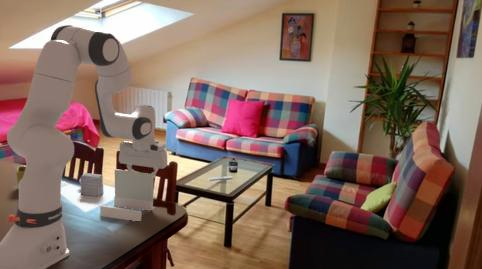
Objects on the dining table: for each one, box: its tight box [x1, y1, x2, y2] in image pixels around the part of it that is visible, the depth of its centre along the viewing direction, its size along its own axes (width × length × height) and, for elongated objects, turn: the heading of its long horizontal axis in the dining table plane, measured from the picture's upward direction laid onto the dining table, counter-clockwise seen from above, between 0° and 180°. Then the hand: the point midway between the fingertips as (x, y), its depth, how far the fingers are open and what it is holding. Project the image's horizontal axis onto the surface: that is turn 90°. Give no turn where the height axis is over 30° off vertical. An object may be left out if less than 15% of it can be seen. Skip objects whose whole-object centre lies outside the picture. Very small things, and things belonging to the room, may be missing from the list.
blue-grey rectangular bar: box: [116, 206, 142, 211], centre depth 151 cm, size 3×10×2 cm, turn 81°
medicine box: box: [80, 172, 104, 197], centre depth 168 cm, size 8×4×9 cm, turn 84°
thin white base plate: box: [99, 195, 154, 222], centre depth 152 cm, size 12×16×4 cm
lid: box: [114, 168, 155, 203], centre depth 156 cm, size 12×16×1 cm
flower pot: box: [16, 165, 26, 185], centre depth 168 cm, size 9×9×9 cm
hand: (142, 175), depth 163 cm, fingers open, 8 cm apart
